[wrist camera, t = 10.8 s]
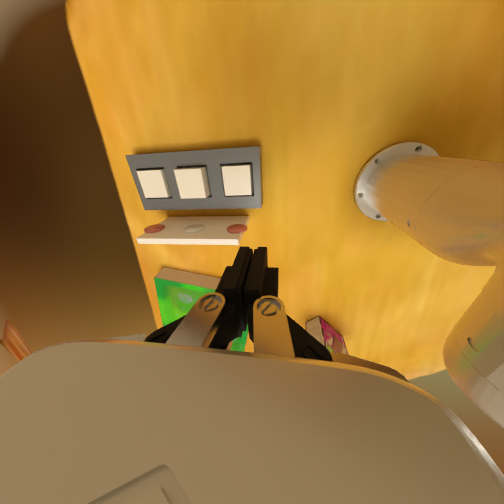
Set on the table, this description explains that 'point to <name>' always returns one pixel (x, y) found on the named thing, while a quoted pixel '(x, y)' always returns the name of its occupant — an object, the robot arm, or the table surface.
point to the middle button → (193, 182)
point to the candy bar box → (326, 335)
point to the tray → (186, 296)
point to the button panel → (199, 227)
